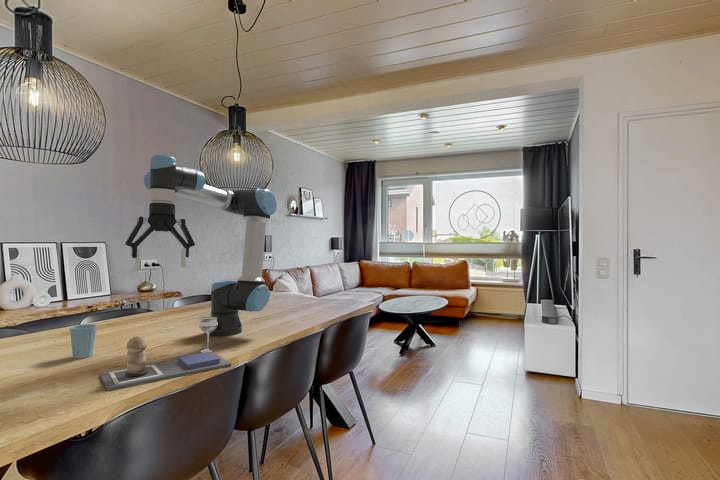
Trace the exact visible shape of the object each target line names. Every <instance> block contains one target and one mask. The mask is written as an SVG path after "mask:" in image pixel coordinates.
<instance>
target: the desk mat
mask: <svg viewBox="0 0 720 480" xmlns="http://www.w3.org/2000/svg"><path fill="white" fill-rule="evenodd" d="M230 366H232V362H230V361H229V360H227V359H225V358H223V357H222V356H220V355H218V354H217V353H216V352H215V353H212V352H204V353H203V352H200V353H194V354H193V353H192V354H187V355H181V356H178V357H177V359H176V360H171V361H165V362H160V363H155V364H148V365H146V369H147V374H146V375H144V376H140V377H135V378H128V377H125V372H126V371H127V368H125V369H120V370H115V371H108V372H104V373H103V372H102V373H100V374H99V376H100V379H101V381H102V383H103V385H104V387H105V389H106V391H107V392H108V391H109V392H110V391H113V390H114V391H115V390H118V389H123V388H129V387H133V386H139V385H143V384H149V383H154V382H157V381H164V380H169V379H173V378H177V377H182V376H188V375H192V374H197V373H202V372H208V371H211V370H216V369H221V368H226V367H230Z"/></svg>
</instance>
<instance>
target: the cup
mask: <svg viewBox="0 0 720 480" xmlns="http://www.w3.org/2000/svg"><path fill="white" fill-rule="evenodd" d="M97 328H98V325H97V324H93V323H92V324H91V323H90V324H89V323H87V324H79V325H73V326H70V327H69V335H70V343H71V353H72V359H76V360H79V359H80V360H81V359H87V358H90V357H92V356H93V355H94V348H95V341H96V336H97V335H96V334H97V331H98V330H97Z"/></svg>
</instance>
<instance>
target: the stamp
mask: <svg viewBox="0 0 720 480" xmlns="http://www.w3.org/2000/svg"><path fill="white" fill-rule="evenodd" d="M147 345H148V342H147V340H146V339H145V338H144V337H142V336H139V335H138V336H134V337H131V338H130V339H129V340H128V341H127V343H126V350H127V352H126V369H127V371H126V372H125V377H128V378H135V377H140V376H144V375H146V374H147V369H146V366H147V347H148V346H147Z"/></svg>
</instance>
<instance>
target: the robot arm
mask: <svg viewBox="0 0 720 480" xmlns="http://www.w3.org/2000/svg"><path fill="white" fill-rule="evenodd" d="M149 164H150V165H149V171H147V172H146V173H145V174H144V177H143V184H144V187H145V188H146V189H147V190H148V191H149V202H150V203H149V204H148V205H149V206H148V207H149V208H148V209H149V210H148V217H144V216H138V217H137V221H136V224H135V226H134V228H133V229H132V230H131V233H130V234H129V236H128V237H127V239H126V241H125V243H124V245H125V246H128V247H130V248H131V258H133V259H134V260H135V261H134V264H135V265H134V268H135V269H136V270H137V269H140V268H141V267H140V266H141V263H140V262H141V247H138V246H140V245H141V244H142V242H143V241H145V240H146V239H147V237H149V236H150V234H152V233H153V232H154V231H155V232H169V233H171V235H173V237H174V238H175V239H176V240H177V241H178V242H179V244H180V245H182V247H181V248H180V267H181V268H186V264H187V263H186V262H187V261H186V259H187V258H189V256H190V248H191V247H195V245H196V244H195V241H194V239H193V237H192V235H191V233H190V231H189V229H188V227H187V225H186V224H187V223H186V219H185V218H180V219H179V218H178V219H176V205H175V203H176V196H178V197H181V198H185V199H189V200H193V201H197V202H199V203H204V204H207V205H209V206H210V205H211V206H214V207H215V208H216V209H217V210H221V211H225V212H228V213H230V214H234V215H238V216H242V219H244V220H245V222H246V223H245V232H244V244H243V246H244V247H243V258H242V270H241V276H240V277H238V278H237V279H232V280H223V281H215V282H213V283H212V284H211V291H210V293H211V294H210V317H217V318H218V319H217V321H218V326H217V328H216V329H215V330H214V331H212V332H210V334H209V336H217V337H218V336H219V337H222V336H232V335H237V334H241V333H242V332H243V325H242V321H241V318H240V315H239V311H242V312H243V311H244V312H250V313H252V312H254V313H255V312H261V311H262V310H264V309H265V307H267V305H268V303H269V300H270V295H271V294H270V293H271V291H270V288H269V287H268V286H267V285H266V280H265V279H264V278H263V270H264V269H263V268H264V267H263V266H264V255H265V254H264V253H265V245H266V244H265V243H266V232H267V231H266V228H267V223H268V222H269V221H271V216H272V215H274V214H275V212H276V211H277V200H276V196H275V195H274V194H273V192H272V191H271V190H270V189H267V188H254V189H253V188H250V189H227V188H217V187H214V186H212V185H209V184H206V176H205V174H204V173H203V172H202V171H200V170H198V169H196V168H189V167H185V166H181V165H178V164H177V159H176V158H175V157H173V156H171V155H165V154H154V155H152V156H151V158H150V163H149ZM146 223H148V225H149V227H147V228H146V230H145V231H144V232H143V233H142V234H140V236H139V237H138V238H137V239H136V240H135V241H134V239H135V238H136V236H137V235H138V233H139V231H140V230H141V228H142V226H143V224H146ZM176 224H177V225H178V226H180V230H181V231H182V233H183V236H184V237H185V239H184V237H183V236H182V235H181V234H180V233H179V231H177V228H175V227H174V226H175V225H176ZM133 241H134V242H133Z"/></svg>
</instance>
